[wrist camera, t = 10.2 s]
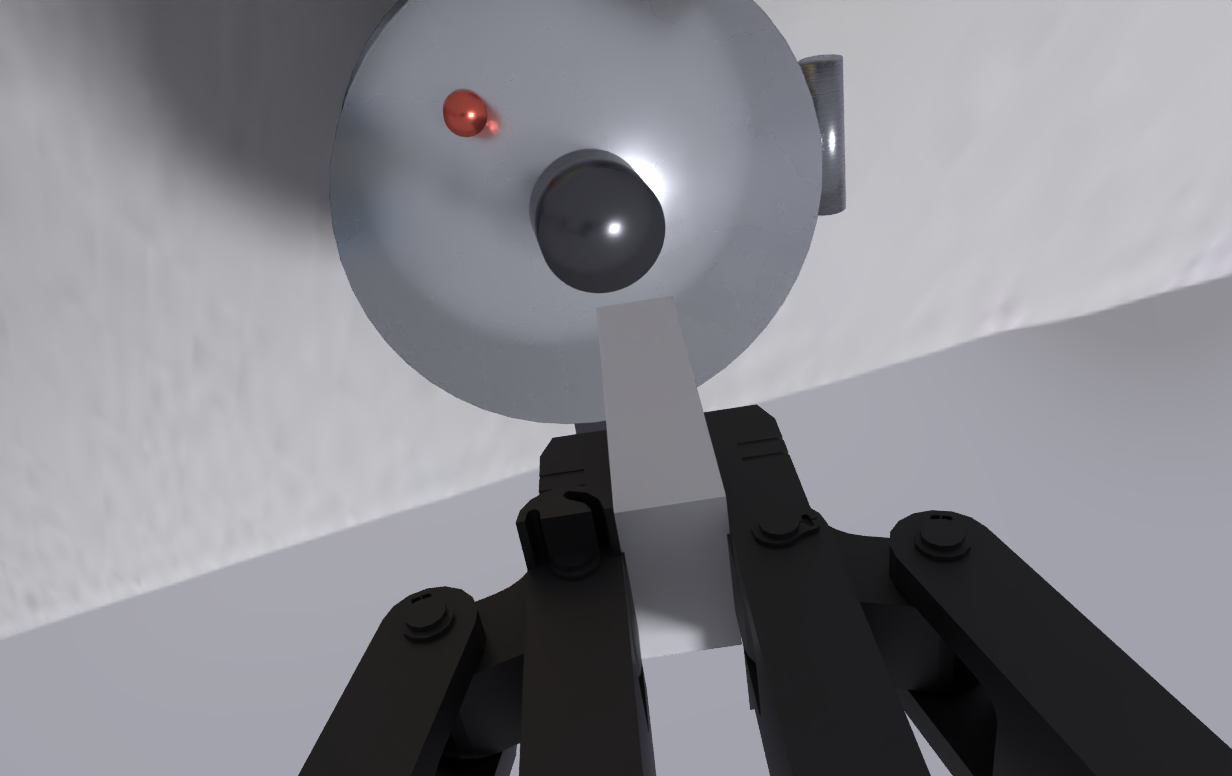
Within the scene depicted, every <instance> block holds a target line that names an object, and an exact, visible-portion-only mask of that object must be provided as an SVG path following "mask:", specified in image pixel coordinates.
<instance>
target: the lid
mask: <svg viewBox="0 0 1232 776" xmlns="http://www.w3.org/2000/svg"><path fill="white" fill-rule="evenodd" d="M821 191H822V150H821V140H820V129H819V125H818V120H817V116H816V112H815V107H814V103H813V99H812V96H811V93H810V91H809V88H808V85H807V83H806V80H805V77H804V75H803V72H802V69H801V67H800V65H799V64H798V62H797V60H796V58H795V56H794V54H793V53H792V51H791V49H790V47H789V45H788V43H787V42H786V40H785V38H784V37H783V36H782V34H781V33H780V32H779V30H778V29H777V28H776V26H775V25H774V24H773V22H772V21H771V19H770V18H769V17H768V15H767V14H766V13H765V12H764V11H763V10H762V9H761V8H760V7H759V6H758V5H757V4H756V3H755V2H754V1H753V0H408V1H407V2H406V3H405V4H404V5H403V6H402V7H401V8H400V9H399V11H398V12H397V13H396V14H395V15H394V16H393V17H392V18H391V19H390V20H389V21H388V23H387V24H386V25H385V26H384V28H383V29H382V31H381V32H380V34H379V35H378V37H377V38H376V40H375V41H374V43H373V44H372V45H371V47H370V48H369V50H368V51H367V53H366V55H365V57H364V59H363V61H362V63H361V65H360V67H359V69H358V71H357V73H356V75H355V77H354V79H353V81H352V83H351V85H350V88H349V91H348V94H347V97H346V100H345V103H344V106H343V109H342V112H341V115H340V119H339V122H338V125H337V129H336V135H335V140H334V146H333V151H332V157H331V169H330V204H331V214H332V224H333V231H334V235H335V239H336V243H337V247H338V251H339V255H340V260H341V262H342V265H343V267H344V270H345V272H346V275H347V278H348V280H349V283H350V285H351V288H352V290H353V292H354V294H355V296H356V297H357V299H358V301H359V303H360V304H361V306H362V308H363V310H364V312H365V313H366V315H367V317H368V318H369V320H370V321H371V322H372V324H373V325H374V326H375V328H376V329H377V330H378V332H379V333H380V334H381V336H382V337H383V338H384V340H385V341H386V342H387V343H388V344H389V345H390V346H391V347H392V348H393V350H394V351H395V352H396V353H397V354H398V355H399V356H400V357H401V358H402V359H403V360H404V361H405V362H406V363H407V364H408V365H410V366H411V367H412V368H413V369H415V370H416V371H417V372H419V373H420V374H421V375H422V376H424V377H425V378H426V379H427V380H429V381H430V382H431V383H433V384H435V385H436V386H438V387H440V388H441V389H443V390H445V391H446V392H448V393H450V394H451V395H453V396H455V397H457V398H459V399H461V400H463V401H466V402H468V403H470V404H472V405H475V406H477V407H479V408H482V409H484V410H488V411H491V412H494V413H498V414H501V415H504V416H507V417H511V418H517V419H523V420H528V421H534V422H542V423H560V424H574V423H591V422H600V421H605V420H606V415H605V404H604V392H603V380H602V369H601V357H600V345H599V334H598V322H597V310H596V308H597V307H603V306H609V305H616V304H622V303H628V302H635V301H641V300H648V299H654V298H660V297H667V296H672V297H673V301H674V305H675V308H676V312H677V316H678V320H679V323H680V327H681V331H682V334H683V338H684V342H685V346H686V349H687V353H688V357H689V361H690V364H691V368H692V372H693V375H694V379H695V383H696V387H698V386H700V385H702V384H703V383H705V382H706V381H707V380H709V379H710V378H712V377H713V376H714V375H716V374H717V373H719V372H720V371H721V370H723V369H724V368H726V367H727V366H728V365H729V364H730V363H731V362H732V361H733V360H735V359H736V358H737V357H738V356H739V355H740V354H741V353H742V352H744V351H745V350H746V349H747V348H748V347H749V346H750V344H751V343H752V342H753V341H754V340H755V339H756V338H757V337H758V336H759V334H760V333H761V332H762V331H763V330H764V329H765V328H766V327H767V325H768V324H769V322H770V321H771V320H772V318H773V317H774V315H775V314H776V313H777V311H778V310H779V308H780V307H781V306H782V304H783V303H784V301H785V299H786V297H787V295H788V294H789V292H790V290H791V288H792V286H793V285H794V283H795V281H796V279H797V277H798V275H799V272H800V270H801V268H802V265H803V263H804V260H805V258H806V255H807V253H808V251H809V247H810V244H811V240H812V237H813V233H814V230H815V226H816V222H817V217H818V211H819V204H820V198H821Z"/></svg>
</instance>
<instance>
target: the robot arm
mask: <svg viewBox="0 0 1232 776" xmlns="http://www.w3.org/2000/svg"><path fill="white" fill-rule="evenodd" d="M596 310H597V322H598V334H599V345H600V357H601V369H602V380H603V392H604V404H605V415H606V427H607V430H601V431H594V432H588V433H581V434H575V435H568V436H562V437H555V438H552V440H551V441H550V443H549V444H548V446H547V447H546V449H545V450H544V452H543V453H542V455H541V456H540V474H539V476H540V480H539V496H537V497H535V498H533V499H531V500H530V501H529V502H528V503H527V504H526V505H525V506H524V507H523V508H522V509H521V510H520V512H519V515H518V518H517V521H516V526H517V530H518V534H519V538H520V542H521V546H522V550H523V553H524V557H525V561H526V565H527V569H528V571H527V573H526V574H525V575H524V576H523V577H522V578H521V579H520V580H519V581H517V582H516V583H515V584H513V585H512V586H510V587H509V588H506V589H504V590H503V591H500V592H498V593H496V594H494V595H492V596H489V597H486V598H484V599H481V600H479V601H476V602H475V601H474V599H473V597H472V596H470V595H469V594H467V593H466V592H464V591H463V590H462V589H457V588H451V587H446V586H444V587H436V588H428V589H425V590H422V591H420V592H417V593H414V594H412V595H409V596H408V597H406V598H405V599H404V600H402V601H401V602H399V603H398V604H396V605H395V606H393V608H392V609H391V610H390V611H389V613H388V614H387V615H386V616H385V618H384V619H383V620H382V622H381V624H380V626H379V628H378V630H377V631H376V633H375V635H374V637H373V639H372V640H371V642H370V644H369V646H368V648H367V650H366V652H365V653H364V656H363V657H362V659H361V661H360V663H359V664H358V666H357V668H356V670H355V672H354V674H353V675H352V677H351V679H350V681H349V683H348V685H347V687H346V688H345V690H344V692H343V694H342V696H341V698H340V699H339V701H338V703H337V705H336V707H335V709H334V711H333V712H332V714H331V716H330V718H329V720H328V722H327V723H326V725H325V727H324V729H323V731H322V733H321V734H320V736H319V738H318V740H317V742H316V744H315V746H314V747H313V749H312V751H311V753H310V755H309V757H308V758H307V760H306V762H305V764H304V766H303V768H302V770H301V772H300V773H299V775H298V776H509V775H510V772H511V769H512V766H513V763H514V760H515V757H516V748H517V744H518V743H520V764H519V776H656V770H655V760H654V751H653V743H652V734H651V724H650V715H649V706H648V697H647V688H646V683H645V677H644V672H643V666H642V660H641V659H646V658H653V657H659V656H666V655H673V654H679V653H686V652H693V651H700V650H707V649H714V648H721V647H727V646H734V645H741V644H742V642H743V646H744V655H745V665H746V674H747V683H748V693H749V702H750V710H752V709H755V712H756V717H757V721H758V725H759V729H760V734H761V738H762V743H763V747H764V751H765V756H766V760H767V764H768V768H769V773H770V776H931V775H930V773H929V770H928V768H927V766H926V763H925V760H924V758H923V756H922V753H921V751H920V748H919V746H918V743H917V741H916V738H915V736H914V734H913V731H912V729H911V726H910V724H909V721H908V719H907V717H906V714H907V715H908V716H909V718H910V719H911V720H912V722H913V723H914V724H915V726H916V727H917V728H918V730H919V731H920V732H921V734H922V735H923V737H924V738H925V739H926V740H927V742H928V743H929V745H930V746H931V747H932V749H933V750H934V751H935V752H936V754H937V755H938V757H939V758H940V759H941V761H942V762H943V763H944V765H945V766H946V767H947V769H948V770H949V771H950V773H951V774H952V775H953V776H1232V749H1231V748H1230V747H1229V746H1228V745H1227V744H1226V743H1224V742H1223V741H1222V740H1221V739H1220V738H1219V737H1218V736H1217V735H1216V734H1214V733H1213V732H1212V731H1211V730H1210V729H1209V728H1208V727H1207V726H1206V725H1204V724H1203V723H1202V722H1201V721H1200V720H1199V719H1198V718H1196V716H1195V715H1193V714H1192V713H1191V712H1190V711H1189V710H1188V709H1187V708H1186V707H1185V706H1184V705H1182V704H1181V703H1180V702H1179V701H1178V700H1177V699H1176V698H1175V697H1174V696H1172V695H1171V694H1170V693H1169V692H1168V691H1167V690H1166V689H1165V688H1164V687H1163V686H1161V685H1160V684H1159V683H1158V682H1157V681H1156V680H1155V679H1154V678H1153V677H1151V676H1150V675H1149V674H1148V673H1147V672H1146V671H1145V670H1144V669H1142V668H1141V667H1140V666H1139V665H1138V664H1137V663H1136V662H1135V661H1134V660H1133V659H1132V658H1130V657H1129V656H1128V655H1127V654H1126V653H1125V652H1124V651H1123V650H1122V649H1121V648H1119V647H1118V646H1117V645H1116V644H1115V643H1114V642H1113V641H1112V640H1110V639H1109V638H1108V637H1107V636H1106V635H1105V634H1104V633H1103V632H1102V631H1101V630H1100V629H1098V628H1097V627H1096V626H1095V625H1094V624H1093V623H1092V622H1091V621H1090V620H1088V619H1087V618H1086V617H1085V616H1084V615H1083V614H1082V613H1081V612H1079V610H1077V609H1076V608H1075V607H1074V606H1073V605H1072V604H1071V603H1070V602H1069V601H1067V600H1066V599H1065V598H1064V597H1063V596H1062V595H1061V594H1060V593H1059V592H1057V591H1056V590H1055V589H1054V588H1053V587H1052V586H1051V585H1050V584H1049V583H1048V582H1046V581H1045V580H1044V579H1043V578H1042V577H1041V576H1040V575H1039V574H1038V573H1036V572H1035V571H1034V570H1033V569H1032V568H1031V567H1030V566H1029V565H1028V564H1027V563H1025V562H1024V561H1023V560H1022V559H1021V558H1020V557H1019V556H1018V555H1017V554H1016V553H1014V552H1013V551H1012V550H1011V549H1010V548H1009V547H1008V546H1007V545H1005V544H1004V543H1003V542H1002V541H1001V540H1000V539H999V538H998V537H997V536H996V535H994V534H993V533H992V532H991V531H990V530H989V529H988V528H987V527H985V526H984V525H982V524H981V523H979V522H978V521H976V520H974V519H973V518H971V517H968V516H965V515H961V514H958V513H955V512H951V511H935V510H931V511H926V512H919V513H914V514H911V515H910V516H908V517H906V518H904V519H902V520H900V521H898V523H897V524H896V525H895V527H894V528H893V529H892V530H891V532H890V538H884V537H870V536H861V535H854V534H848V533H845V532H842V531H839V530H836V529H834V528H832V527H830V526H828V524H827V522H826V521H825V520H824V518H823V517H822V516H821V515H820V513H818V512H816V511H815V510H813V509H811V507H810V506H809V503H808V501H807V498H806V495H805V493H804V491H803V488H802V485H801V483H800V480H799V478H798V475H797V473H796V470H795V468H794V465H793V463H792V460H791V458H790V455H788V450H787V448H786V445H785V442H784V440H783V439H782V435H781V432H780V430H779V427H778V425H777V422H776V420H775V418H774V417H772V416H771V415H769V414H768V413H767V412H766V411H764V410H763V409H762V408H760V407H759V406H758V405H757V404H756V405H750V406H743V407H737V408H730V409H724V410H717V411H711V412H704V413H703V409H702V405H701V401H700V398H699V394H698V390H697V387H696V383H695V379H694V375H693V372H692V368H691V364H690V361H689V357H688V353H687V349H686V346H685V342H684V338H683V334H682V331H681V327H680V323H679V320H678V316H677V312H676V308H675V305H674V301H673V297H672V296H667V297H660V298H654V299H648V300H641V301H635V302H628V303H622V304H616V305H609V306H603V307H597V308H596ZM741 638H742V642H741ZM904 711H905V712H906V714H905V712H904Z"/></svg>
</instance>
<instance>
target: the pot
mask: <svg viewBox="0 0 1232 776" xmlns="http://www.w3.org/2000/svg"><path fill="white" fill-rule="evenodd" d="M407 1H408V0H399V1H398V2H397V3H396V4H395V5H394V6H393V8H392V9H391V10H390V11H389V12H388V13H387V14H386V15H385V16H384V18H383V19H382V21H381V22H380V24H379V25H378V27H377V28H376V30H375V31H374V33H373V34H372V36H371V37H370V39H369V40H368V41H367V43H366V45H365V47H364V49H363V51H362V53H361V55H360V57H359V60H358V62H357V64H356V66H355V68H354V70H353V72H352V75H351V79H350V82H349V85H348V88H347V91H346V94H345V97H344V100H343V106H344V103H345V100H346V97H347V94H348V91H349V88H350V85H351V83H352V81H353V79H354V77H355V75H356V73H357V71H358V69H359V67H360V65H361V63H362V61H363V59H364V57H365V55H366V53H367V51H368V50H369V48H370V47H371V45H372V44H373V43H374V41H375V40H376V38H377V37H378V35H379V34H380V32H381V31H382V29H383V28H384V26H385V25H386V24H387V23H388V21H389V20H390V19H391V18H392V17H393V16H394V15H395V14H396V13H397V12H398V11H399V9H400V8H401V7H402V6H403V5H404V4H405V3H406V2H407ZM798 64H799V65H800V67H801V69H802V72H803V75H804V77H805V80H806V83H807V85H808V88H809V91H810V93H811V96H812V99H813V103H814V107H815V112H816V116H817V120H818V125H819V129H820V140H821V150H822V191H821V198H820V204H819V211H818V215H832V214H836V213H839V212H842V211H843V210H845V208H846V185H845V138H844V92H843V57H842V56H841V55H818V56H812V57H807V58H804V59H801V60H799V61H798ZM343 106H342V109H343ZM574 424H575V429H576V434H581V433H588V432H594V431H601V430H607V427H606V420H605V421H600V422H591V423H574Z"/></svg>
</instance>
